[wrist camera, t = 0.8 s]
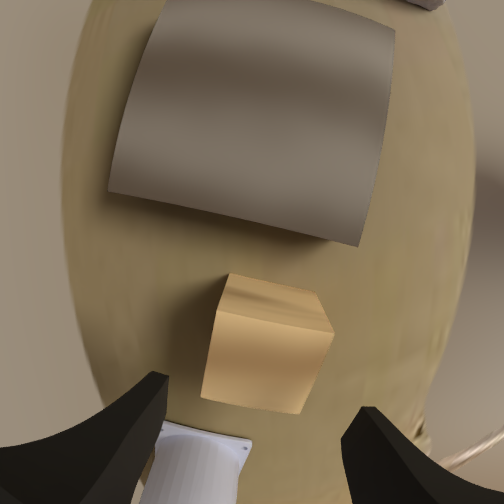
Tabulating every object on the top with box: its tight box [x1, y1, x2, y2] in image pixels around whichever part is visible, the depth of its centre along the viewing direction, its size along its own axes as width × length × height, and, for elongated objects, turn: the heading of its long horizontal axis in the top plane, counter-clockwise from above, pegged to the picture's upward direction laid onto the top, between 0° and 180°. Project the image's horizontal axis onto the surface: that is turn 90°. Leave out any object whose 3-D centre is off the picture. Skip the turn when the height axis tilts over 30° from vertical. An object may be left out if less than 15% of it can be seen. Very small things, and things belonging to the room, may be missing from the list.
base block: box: [107, 0, 395, 247], centre depth 12 cm, size 12×12×3 cm
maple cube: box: [200, 273, 335, 414], centre depth 14 cm, size 5×5×5 cm
